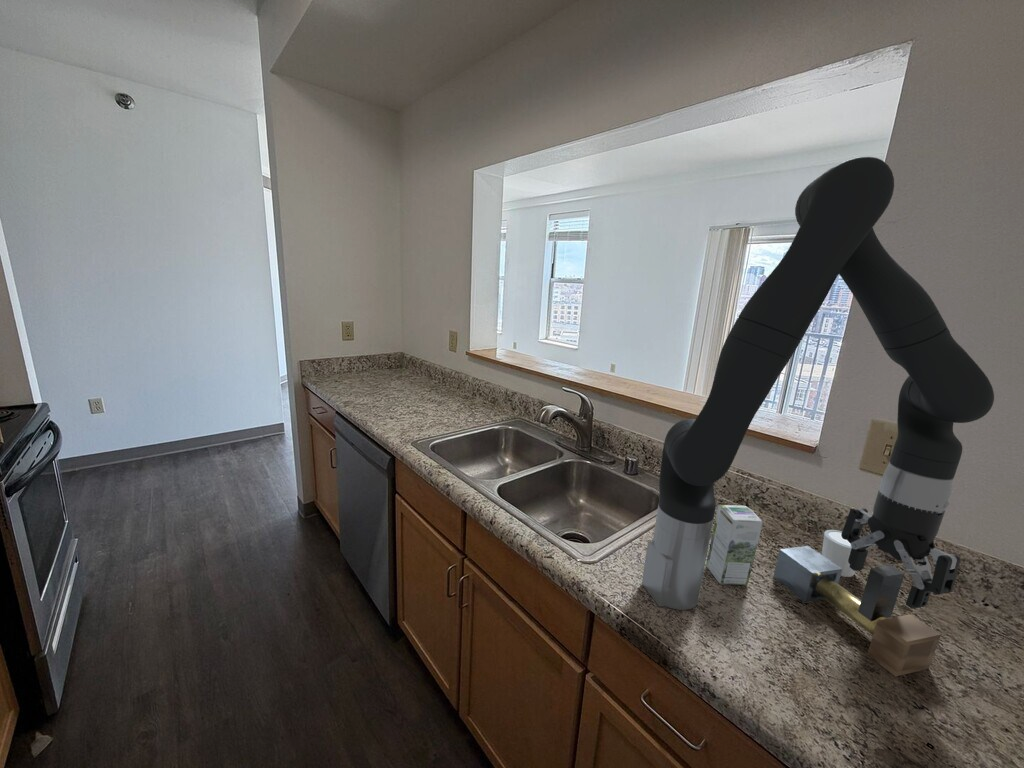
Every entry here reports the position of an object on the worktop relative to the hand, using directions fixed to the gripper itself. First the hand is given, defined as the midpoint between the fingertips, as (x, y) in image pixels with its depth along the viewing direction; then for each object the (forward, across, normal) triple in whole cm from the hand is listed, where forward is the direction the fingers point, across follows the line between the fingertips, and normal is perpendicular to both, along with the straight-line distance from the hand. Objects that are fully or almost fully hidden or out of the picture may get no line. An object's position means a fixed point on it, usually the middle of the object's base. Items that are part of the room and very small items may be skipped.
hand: (882, 586), depth 66 cm
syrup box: (+10, -17, -13) cm, 24 cm away
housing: (+10, -12, 0) cm, 16 cm away
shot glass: (+10, -16, +13) cm, 23 cm away
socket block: (+10, +4, 0) cm, 11 cm away
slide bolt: (+9, -2, 0) cm, 9 cm away
